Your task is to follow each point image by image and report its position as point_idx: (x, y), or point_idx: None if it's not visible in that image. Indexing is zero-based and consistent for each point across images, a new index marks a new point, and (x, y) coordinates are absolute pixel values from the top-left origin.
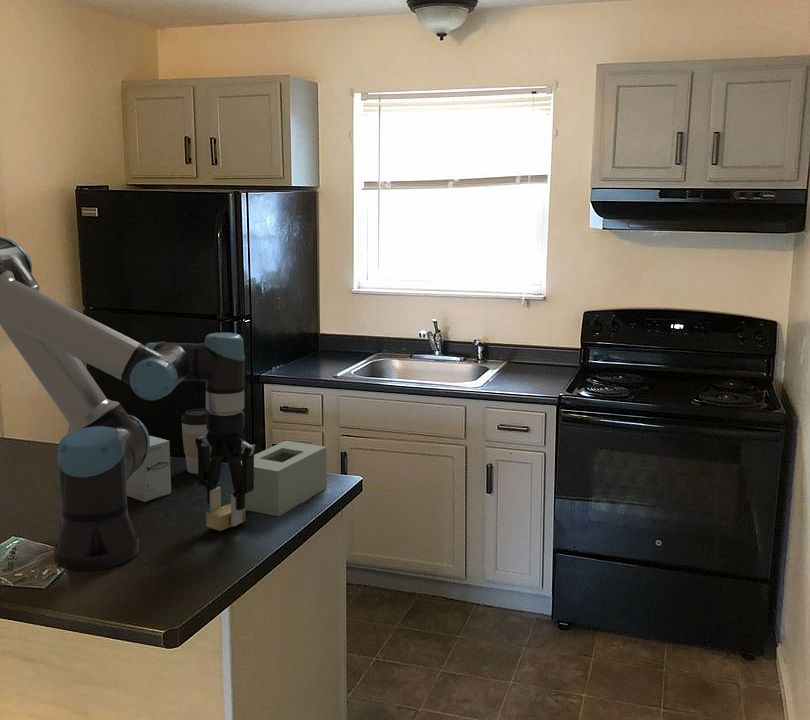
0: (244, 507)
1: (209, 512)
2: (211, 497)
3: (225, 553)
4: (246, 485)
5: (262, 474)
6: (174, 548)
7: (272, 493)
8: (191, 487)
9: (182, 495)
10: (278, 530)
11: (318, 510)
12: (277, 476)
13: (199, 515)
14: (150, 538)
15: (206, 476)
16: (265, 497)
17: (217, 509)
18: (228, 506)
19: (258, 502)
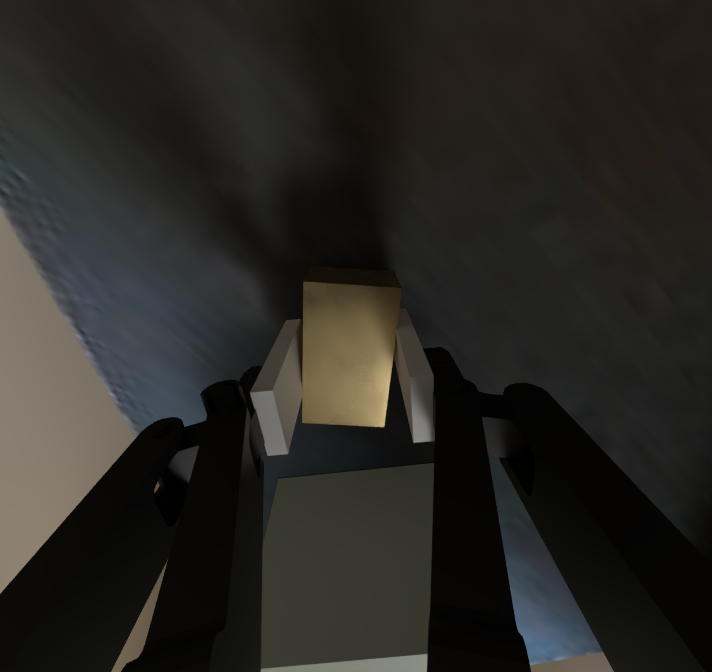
0: (304, 420)
1: (387, 296)
2: (414, 356)
3: (147, 126)
4: (113, 464)
5: (330, 624)
6: (374, 23)
7: (288, 545)
8: (678, 503)
9: (673, 450)
10: (187, 404)
11: None
12: None
13: (514, 360)
14: (556, 53)
15: (533, 463)
16: (323, 523)
17: (381, 343)
18: (367, 394)
19: (353, 498)
